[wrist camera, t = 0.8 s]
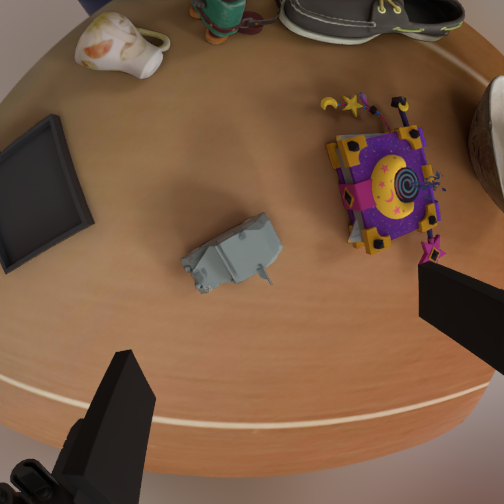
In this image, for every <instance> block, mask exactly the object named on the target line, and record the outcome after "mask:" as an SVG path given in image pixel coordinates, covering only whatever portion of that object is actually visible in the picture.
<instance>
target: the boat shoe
mask: <svg viewBox="0 0 504 504" xmlns="http://www.w3.org/2000/svg"><path fill="white" fill-rule="evenodd" d="M281 3H282V8H281V13H280V15H279V18H280V20H281V22H282V23H283V24H284V25H285V26H286V27H287V28H288V29H289V30H291V31H293V32H294V33H297V34H299V35H302V36H304V37H307V38H311V39H315V40H319V41H323V42H329V43H336V44H348V45H353V44H361V43H365V42H367V41H369V40H371V39H373V38H374V37H376V36H378V35H380V34H383V33H402V34H404V35H406V36H409V37H411V38H414V39H418V40H423V41H429V42H433V41H437V40H439V39H440V38H442V37H443V36H447V35H448V33H449V31H450V30H452V29H455V28H458V27H460V26H461V23H462V22H463V20H464V18H465V10H464V8H463V7H462V5H461V4H460V3H459V2H458V1H457V0H283V1H282V2H281ZM278 9H279V8H278Z"/></svg>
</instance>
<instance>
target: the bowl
mask: <svg viewBox="0 0 504 504" xmlns="http://www.w3.org/2000/svg"><path fill="white" fill-rule="evenodd" d="M468 148H469V155H470V159H471V163H472V166H473V169H474V171H475V173H476V176H477V177H478V179H479V181H480V182H481V184H482V186H483V188H484V189H485V191H486V192H487V193H488V194H489V196H490V197H491V199H492V200H493V201H494V202H495V204H496V205H497V206H498V207H499V208H500V209H501V210H502V211H503V213H504V76H502V75H500V76H497V77H495V78H494V79H493V80H492V81H491V82H490V84H489V85H488V87H487V88H486V90H485V92H484V94H483V96H482V98H481V100H480V101H479V104H478V106H477V108H476V111H475V114H474V116H473V119H472V123H471V127H470V130H469V136H468Z"/></svg>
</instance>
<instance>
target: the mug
mask: <svg viewBox="0 0 504 504" xmlns="http://www.w3.org/2000/svg"><path fill="white" fill-rule="evenodd" d="M141 35H144V36H151V37H155V38H158V39H160V40H162V41H163V45H161V46H154V45H152V44H151V43H149V42H147V41H146V40H145V39H144V38H143V37H142V36H141ZM169 48H170V40H169V38H168V37H167V36H165V35H164V34H161V33H158V32H154V31H150V30H145V29H143V28H138V27H134V26H133V24H132V23H131V22H130V21H129V20H128V19H127V18H126V17H125V16H123V15H122V14H119V13H116V12H112V11H107V12H104V13H102V14H101V15H99V16H98V17H97V18H96V19H95V20H94V21H93V22H92V23H91V24H90V25H89V26H88V27H87V29H86V30H85V31H84V33H83V34H82V36H81V37H80V39H79V41H78V43H77V45H76V48H75V61H76V63H78V64H79V65H81V66H83V67H85V68H88V69H93V70H111V71H122V72H126V73H128V74H131V75H133V76H135V77H137V78H139V79H143V78H148V77H150V76H151V75H152V74H153V73H154V72H155V71H156V70H157V69H158V67H159V66H160V64H161V62H162V60H163V54H162V52H164V51H167V50H168V49H169Z"/></svg>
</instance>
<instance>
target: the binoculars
mask: <svg viewBox="0 0 504 504" xmlns="http://www.w3.org/2000/svg"><path fill="white" fill-rule="evenodd" d="M191 2H192V4H191V5H190V15H191V16H192V17H194V18H201V19H202V21H203V22H204V24H205V25H206V26H207V29H206V33H205V38H206V40H207V41H208V42H209V43H211V44H221V43H223V42H225V41H226V40H227V39H228V37H229V35H232V34H234V33H236V32H240V33H243V34H249V35H253V34H257V33H259V32H260V31H261V29H262V27H263V25H266V24H270V23H273V22H274V21H275V20H276V19H277V18H278V17H279V15H280V13H281V8H282V3H281V1H280V0H275V2H276V4H277V6H278V8H279V9H278V14H277V16H276V17H275V18H273V19H268V20H264V19H263V17H262V16H261V15H259V14H257V13H255V12H251V11H245V12H244V8H245V5H246V0H191Z"/></svg>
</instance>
